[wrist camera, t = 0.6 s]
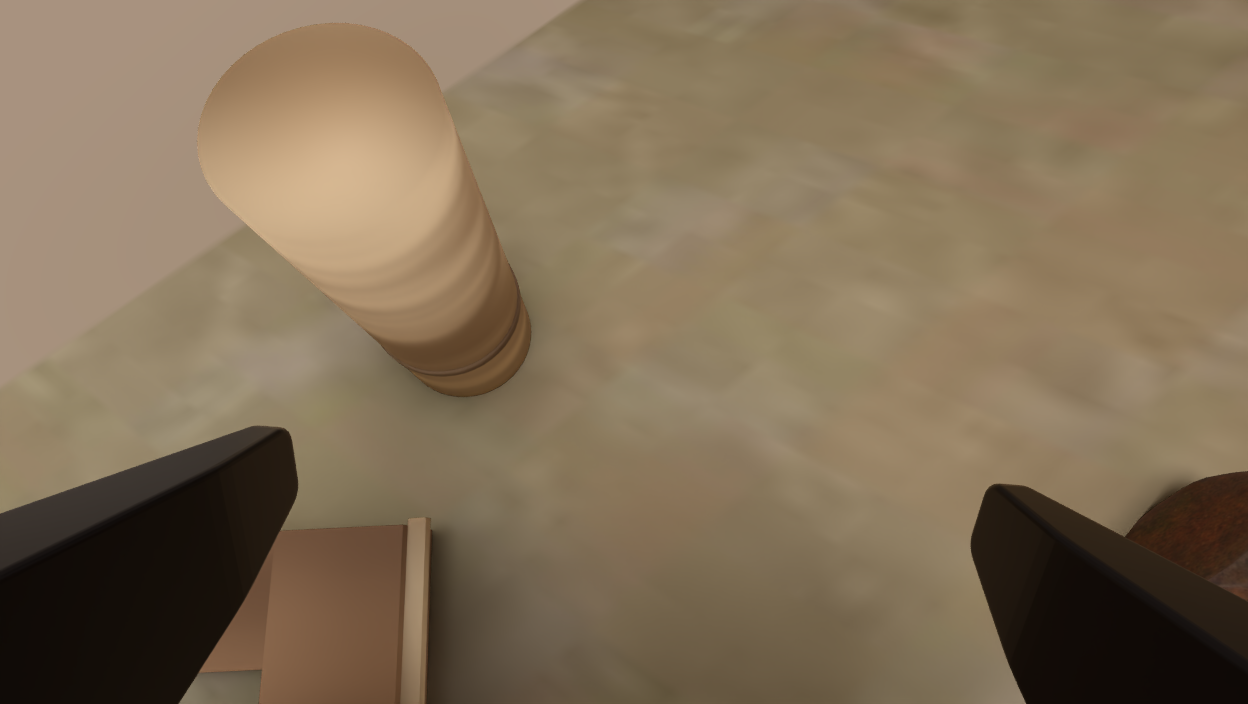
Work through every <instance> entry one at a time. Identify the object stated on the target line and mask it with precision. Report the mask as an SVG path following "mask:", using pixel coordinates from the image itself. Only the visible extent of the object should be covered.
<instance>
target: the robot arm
mask: <svg viewBox="0 0 1248 704" xmlns="http://www.w3.org/2000/svg"><path fill="white" fill-rule="evenodd" d="M297 492H298V477H297V470H296V464H295V457H294V450H293V444H292V439H291V436H290V434H289V432H288V431H287V430H286V429H284V428H281V427H269V426H251V427H248V428H245V429H243V430H240V431H237V432H234V433H231V434H228V435H225V436H222V437H220V438H217V439H214V440H211V441H208V442H205V443H202V444H199V445H196V446H194V447H191V448H188V449H185V450H182V451H179V452H176V453H173V454H171V455H168V456H165V457H162V458H159V459H156V460H153V461H150V462H148V463H145V464H142V465H139V466H136V467H133V468H130V469H127V470H124V471H122V472H119V473H116V474H113V475H110V476H107V477H104V478H101V479H99V480H96V481H93V482H90V483H87V484H84V485H81V486H78V487H76V488H73V489H70V490H67V491H64V492H61V493H58V494H55V495H52V496H50V497H47V498H44V499H41V500H38V501H35V502H32V503H29V504H27V505H24V506H21V507H18V508H15V509H12V510H9V511H6V512H4V513H1V514H0V704H179V702H180V701H181V699H182V698H183V696H184V695H185V693H186V691H187V690H188V688H189V687H190V685H191V684H192V682H193V681H194V679H195V677H196V676H197V674H198V673H199V671H200V670H201V668H202V667H203V665H204V663H205V662H206V660H207V659H208V657H209V656H210V654H211V653H212V651H213V649H214V648H215V646H216V645H217V643H218V642H219V640H220V639H221V637H222V635H223V634H224V632H225V631H226V629H227V628H228V626H229V624H230V623H231V621H232V620H233V618H234V617H235V615H236V613H237V612H238V610H239V608H240V607H241V605H242V604H243V602H244V600H245V598H246V597H247V595H248V593H249V591H250V589H251V587H252V586H253V584H254V582H255V580H256V578H257V576H258V574H259V572H260V570H261V568H262V566H263V564H264V562H265V560H266V558H267V556H268V554H269V552H270V550H271V548H272V546H273V544H274V542H275V540H276V538H277V536H278V534H279V532H280V530H281V528H282V526H283V524H284V522H285V520H286V518H287V516H288V514H289V512H290V510H291V508H292V506H293V504H294V502H295V499H296V496H297ZM971 554H972V558H973V561H974V564H975V567H976V570H977V573H978V576H979V579H980V582H981V585H982V588H983V591H984V594H985V597H986V600H987V603H988V606H989V609H990V612H991V615H992V618H993V621H994V623H995V626H996V629H997V632H998V635H999V638H1000V641H1001V644H1002V647H1003V650H1004V653H1005V655H1006V658H1007V661H1008V663H1009V666H1010V668H1011V671H1012V673H1013V675H1014V678H1015V680H1016V682H1017V685H1018V687H1019V689H1020V691H1021V693H1022V696H1023V698H1024V700H1025V702H1026V704H1248V601H1247V600H1245V599H1243V598H1241V597H1239V596H1237V595H1235V594H1233V593H1231V592H1229V591H1228V590H1226V589H1224V588H1222V587H1220V586H1218V585H1216V584H1214V583H1212V582H1210V581H1208V580H1206V579H1204V578H1203V577H1201V576H1199V575H1197V574H1195V573H1193V572H1191V571H1189V570H1187V569H1185V568H1183V567H1181V566H1179V565H1177V564H1176V563H1174V562H1172V561H1170V560H1168V559H1166V558H1164V557H1162V556H1160V555H1158V554H1156V553H1154V552H1152V551H1150V550H1149V549H1147V548H1145V547H1143V546H1141V545H1139V544H1137V543H1135V542H1133V541H1131V540H1129V539H1127V538H1125V537H1124V536H1122V535H1120V534H1118V533H1116V532H1114V531H1112V530H1110V529H1108V528H1106V527H1104V526H1102V525H1100V524H1098V523H1097V522H1095V521H1093V520H1091V519H1089V518H1087V517H1085V516H1083V515H1081V514H1079V513H1077V512H1075V511H1073V510H1071V509H1070V508H1068V507H1066V506H1064V505H1062V504H1060V503H1058V502H1056V501H1054V500H1052V499H1050V498H1048V497H1046V496H1045V495H1043V494H1041V493H1039V492H1037V491H1035V490H1033V489H1031V488H1029V487H1026V486H1022V485H1010V484H993V485H992V486H990V487H989V488H988V489H987V490H986V492H985V495H984V497H983V501H982V504H981V507H980V510H979V513H978V517H977V520H976V523H975V526H974V529H973V533H972V536H971Z"/></svg>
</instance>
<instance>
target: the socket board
mask: <svg viewBox="0 0 1248 704" xmlns="http://www.w3.org/2000/svg"><path fill="white" fill-rule="evenodd" d="M430 522H431V519H430V518H426V517H425V518H408V526H407V525H387V526H367V527H347V528H327V529H307V530H286V531H280V532H279V534H278V536H277V538H276V540H275V542H274V544H273V546H272V548H271V550H270V552H269V554H268V556H267V558H266V560H265V562H264V564H263V566H262V568H261V570H260V572H259V574H258V576H257V578H256V580H255V582H254V584H253V586H252V587H251V589H250V591H249V593H248V595H247V597H246V598H245V600H244V602H243V604H242V605H241V607H240V608H239V610H238V612H237V613H236V615H235V617H234V618H233V620H232V621H231V623H230V624H229V626H228V628H227V629H226V631H225V632H224V634H223V635H222V637H221V639H220V640H219V642H218V643H217V645H216V646H215V648H214V649H213V651H212V653H211V654H210V656H209V657H208V659H207V660H206V662H205V663H204V665H203V667H202V668H201V670H200V671H199V673H203V672H222V671H242V670H261V669H262V676H261V686H260V697H259V704H426V701H427V670H428V639H429V609H430V578H431V547H432V530H430Z"/></svg>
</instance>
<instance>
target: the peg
mask: <svg viewBox="0 0 1248 704" xmlns="http://www.w3.org/2000/svg"><path fill="white" fill-rule="evenodd" d="M197 146H198V157H199V161H200V165H201V169H202V171H203V174H204V176H205V178H206V181H207V182H208V184H209V186H210V187H211V188H212V190H213V192H214V193H215V194H216V196H217V197H218V198H219V199H220V200H221V201H222V202H223V203H224V204H225V205H226V206H227V207H228V208H229V209H230V210H231V211H232V212H233V213H235V214H236V215H237V216H238V217H239V218H240V219H241V220H242V221H244V222H245V223H246V224H247V225H248V226H249V227H250V228H251V229H252V230H254V231H255V232H256V233H257V234H258V235H259V236H260V237H261V238H262V239H264V240H265V241H266V242H267V243H268V244H269V245H270V246H271V247H273V248H274V249H275V250H276V251H277V252H278V253H279V254H280V255H281V256H283V257H284V258H285V259H286V260H287V261H288V262H289V263H290V264H291V265H293V266H294V267H295V268H296V269H297V270H298V271H299V272H300V273H301V274H303V275H304V276H305V277H306V278H307V279H308V280H309V281H310V282H312V283H313V284H314V285H315V286H316V287H317V288H318V289H319V290H320V291H322V292H323V293H324V294H325V295H326V296H327V297H328V298H329V299H330V300H332V301H333V302H334V303H335V304H336V305H337V306H338V307H339V308H341V309H342V310H343V311H344V312H345V313H346V314H347V315H348V316H349V317H351V318H352V319H353V320H354V321H355V322H356V323H357V324H358V325H359V326H361V327H362V328H363V329H364V330H365V331H366V332H367V333H368V334H369V335H371V336H372V337H373V338H374V339H375V340H376V341H377V342H378V343H380V344H381V346H382V347H383V348H384V349H385V351H386V352H387V353H388V354H389V355H390V356H391V357H393V358H394V359H395V360H396V361H397V362H399V363H400V364H401V365H403V366H405V367H406V368H407V369H409V370H410V371H411V372H412V373H413V374H414V375H415V376H416V377H417V378H419V379H420V380H421V381H422V382H423V383H424V384H426V385H427V386H428V387H430V388H432V389H433V390H435V391H438V392H440V393H443V394H446V395H450V396H457V397H469V396H476V395H480V394H484V393H487V392H489V391H492V390H494V389H496V388H498V387H499V386H501V385H502V384H504V383H505V382H507V381H508V380H509V379H510V378H511V377H512V376H513V375H514V374H515V373H516V372H517V370H518V369H519V368H520V366H521V365H522V363H523V361H524V359H525V357H526V355H527V352H528V349H529V346H530V341H531V324H530V319H529V316H528V313H527V310H526V308H525V305H524V302H523V300H522V297H521V295H520V290H519V286H518V283H517V280H516V278H515V275H514V272H513V270H512V268H511V267H510V265H509V263H508V261H507V259H506V256H505V254H504V251H503V249H502V246H501V243H500V241H499V238H498V236H497V233H496V231H495V228H494V225H493V223H492V220H491V218H490V215H489V213H488V210H487V208H486V205H485V202H484V200H483V197H482V195H481V192H480V190H479V187H478V184H477V182H476V179H475V177H474V174H473V172H472V169H471V166H470V164H469V161H468V159H467V156H466V154H465V151H464V149H463V146H462V143H461V141H460V138H459V136H458V133H457V131H456V128H455V125H454V123H453V120H452V118H451V115H450V113H449V110H448V107H447V105H446V102H445V100H444V97H443V95H442V92H441V90H440V87H439V84H438V82H437V79H436V77H435V76H434V74H433V72H432V70H431V69H430V67H429V66H428V64H427V63H426V62H425V61H424V59H423V58H422V57H421V56H420V55H419V54H418V53H417V52H416V51H415V50H414V49H413V48H412V47H410V46H409V45H407V44H406V43H404V42H403V41H401V40H400V39H398V38H396V37H394V36H392V35H390V34H389V33H386V32H383V31H381V30H378V29H375V28H371V27H367V26H362V25H357V24H349V23H325V24H316V25H310V26H305V27H300V28H297V29H294V30H291V31H287V32H284V33H282V34H279V35H277V36H275V37H272V38H270V39H268V40H267V41H265V42H263V43H261V44H259V45H257V46H256V47H254V48H253V49H252V50H250V51H249V52H247V53H246V54H244V55H243V56H242V57H241V58H240V59H239V60H237V61H236V62H235V63H234V64H233V65H232V66H231V67H230V68H229V69H228V70H227V71H226V72H225V74H224V75H223V76H222V77H221V78H220V80H219V81H218V83H217V84H216V85H215V87H214V88H213V90H212V92H211V94H210V96H209V97H208V99H207V101H206V104H205V107H204V109H203V111H202V114H201V118H200V122H199V127H198V138H197Z"/></svg>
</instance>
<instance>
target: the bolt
mask: <svg viewBox="0 0 1248 704" xmlns="http://www.w3.org/2000/svg"><path fill="white" fill-rule="evenodd" d="M1125 538H1127V539H1129V540H1131V541H1133V542H1135V543H1137V544H1139V545H1141V546H1143V547H1145V548H1147V549H1149V550H1150V551H1152V552H1154V553H1156V554H1158V555H1160V556H1162V557H1164V558H1166V559H1168V560H1170V561H1172V562H1174V563H1176V564H1177V565H1179V566H1181V567H1183V568H1185V569H1187V570H1189V571H1191V572H1193V573H1195V574H1197V575H1199V576H1201V577H1203V578H1204V579H1206V580H1208V581H1210V582H1212V583H1214V584H1216V585H1218V586H1220V587H1222V588H1224V589H1226V590H1228V591H1229V592H1231V593H1233V594H1235V595H1237V596H1239V597H1241V598H1243V599H1245V600H1247V601H1248V471H1245V472H1235V473H1229V474H1223V475H1217V476H1212V477H1207V478H1204V479H1201V480H1198V481H1196V482H1193V483H1191V484H1189V485H1188V486H1186V487H1184V488H1182V489H1181V490H1179V491H1178V492H1176V493H1175V494H1173V495H1172V496H1170V497H1168V498H1167V499H1165V500H1164V501H1162V502H1161V503H1159V504H1158V505H1156V506H1155V507H1154V508H1153V509H1151V510H1150V511H1149V512H1148V513H1146V514H1145V515H1144V516H1143V517H1142V518H1140V519H1139V520H1138V521H1137V523H1136V524H1135V525H1134V526H1133V528H1132V529H1131V530H1130V532H1129V533H1128V534H1127V535H1126V536H1125Z"/></svg>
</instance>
